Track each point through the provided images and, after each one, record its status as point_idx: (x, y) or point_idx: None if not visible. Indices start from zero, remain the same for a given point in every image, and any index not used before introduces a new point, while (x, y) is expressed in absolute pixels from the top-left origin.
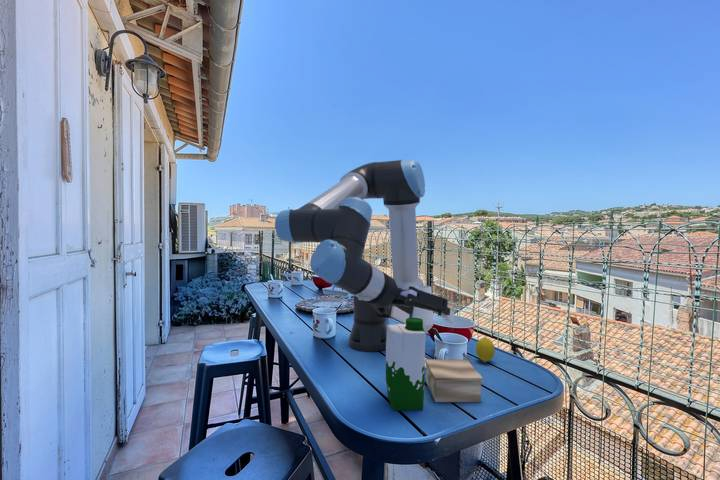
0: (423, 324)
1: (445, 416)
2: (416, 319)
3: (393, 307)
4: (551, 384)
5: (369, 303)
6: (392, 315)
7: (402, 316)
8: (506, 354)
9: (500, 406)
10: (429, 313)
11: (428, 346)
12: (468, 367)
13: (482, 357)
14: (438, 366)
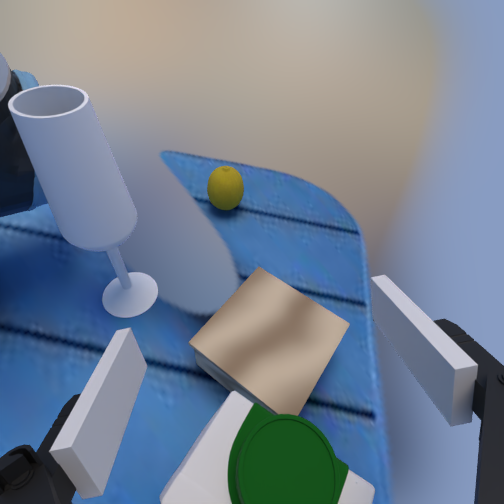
0: (118, 239)
1: None
2: (283, 443)
3: (69, 454)
4: (339, 210)
5: None
6: (98, 492)
7: (123, 389)
8: (230, 164)
9: (357, 331)
10: (122, 197)
11: None
12: (291, 300)
13: (228, 208)
14: (245, 352)
